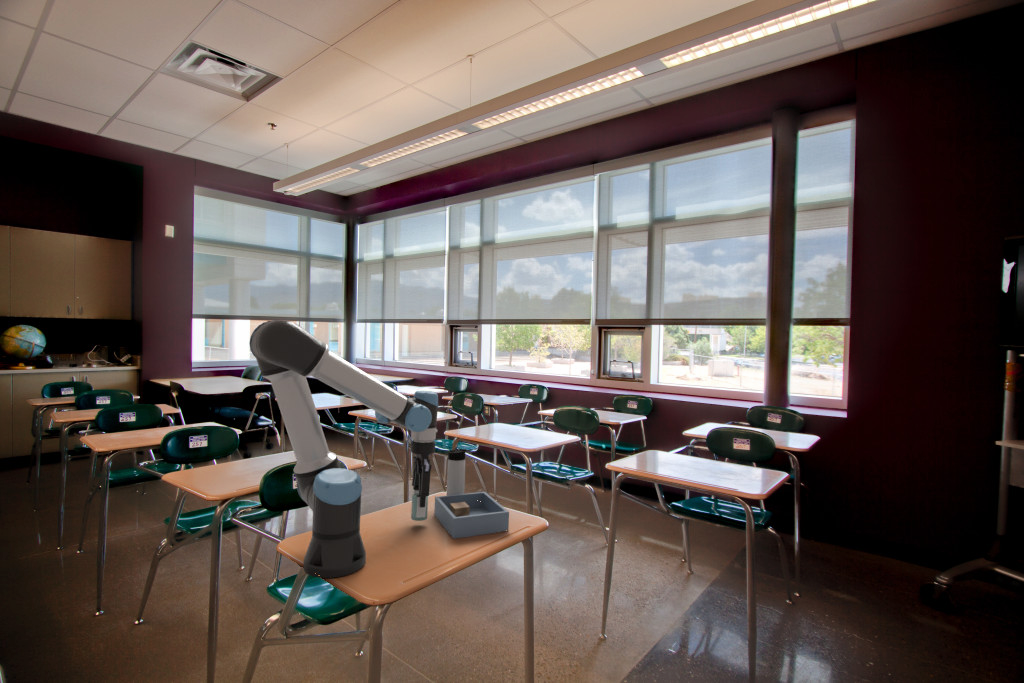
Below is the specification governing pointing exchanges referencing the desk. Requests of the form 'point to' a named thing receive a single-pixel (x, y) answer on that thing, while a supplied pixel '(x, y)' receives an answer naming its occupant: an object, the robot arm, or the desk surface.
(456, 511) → the walnut cube
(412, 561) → the desk surface
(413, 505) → the teal cylinder
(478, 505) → the tote
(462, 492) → the travel mug
